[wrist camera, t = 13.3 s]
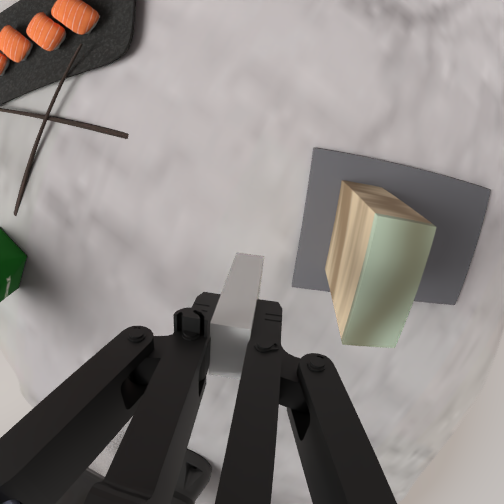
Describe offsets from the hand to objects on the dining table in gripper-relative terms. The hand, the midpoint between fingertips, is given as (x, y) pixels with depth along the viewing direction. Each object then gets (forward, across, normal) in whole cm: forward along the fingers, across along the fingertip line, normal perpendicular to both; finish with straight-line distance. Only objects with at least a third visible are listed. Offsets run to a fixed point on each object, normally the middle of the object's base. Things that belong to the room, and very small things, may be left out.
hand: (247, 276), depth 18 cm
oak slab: (+13, +9, 0) cm, 16 cm away
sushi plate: (+15, -28, +12) cm, 34 cm away
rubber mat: (+14, +14, 0) cm, 19 cm away
